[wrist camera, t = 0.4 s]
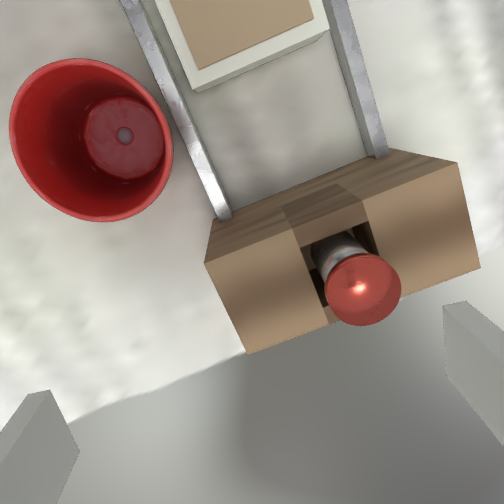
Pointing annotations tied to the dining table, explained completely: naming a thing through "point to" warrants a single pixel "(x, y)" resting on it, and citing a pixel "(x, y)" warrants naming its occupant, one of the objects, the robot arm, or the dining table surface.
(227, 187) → the dining table surface
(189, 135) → the rail channel
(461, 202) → the end cabinet
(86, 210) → the flower pot
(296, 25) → the block
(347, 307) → the cylinder
